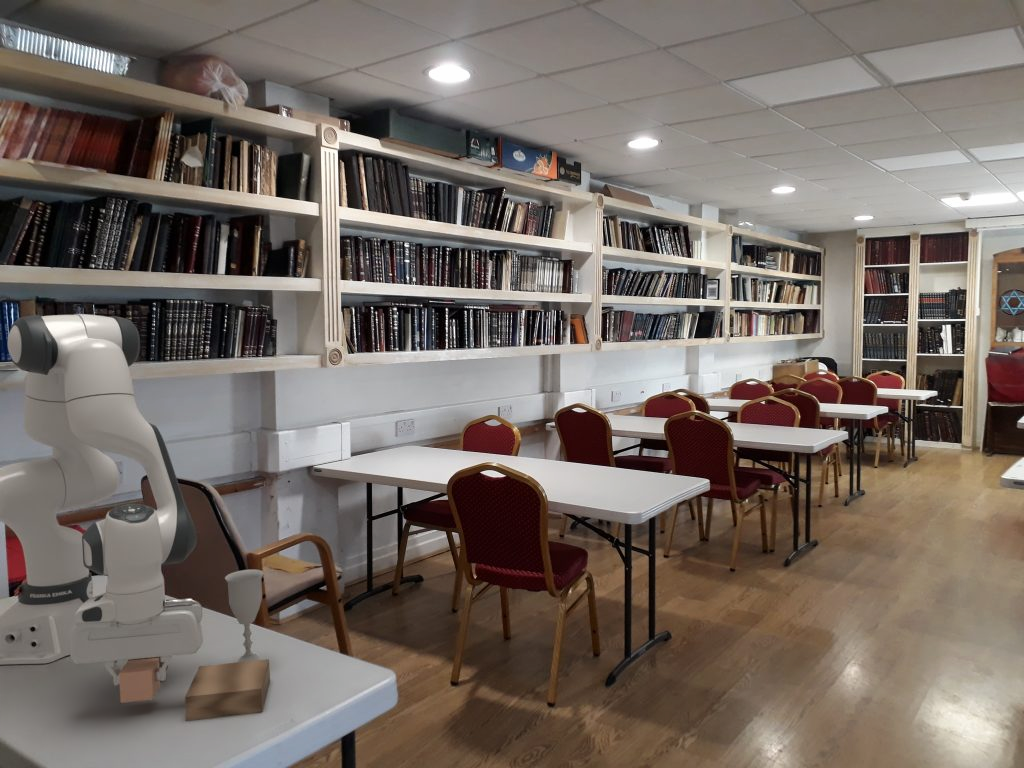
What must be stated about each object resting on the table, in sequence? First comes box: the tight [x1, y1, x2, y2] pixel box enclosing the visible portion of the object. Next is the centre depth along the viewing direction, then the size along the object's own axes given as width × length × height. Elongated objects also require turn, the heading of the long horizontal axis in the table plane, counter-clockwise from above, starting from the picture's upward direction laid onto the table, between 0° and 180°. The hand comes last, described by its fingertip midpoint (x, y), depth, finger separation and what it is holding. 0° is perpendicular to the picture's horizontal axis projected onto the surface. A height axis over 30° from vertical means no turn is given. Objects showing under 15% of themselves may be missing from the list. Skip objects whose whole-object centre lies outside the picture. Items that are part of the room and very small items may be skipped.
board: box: [184, 658, 271, 722], centre depth 134 cm, size 12×12×4 cm
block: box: [119, 658, 161, 704], centre depth 131 cm, size 5×5×5 cm
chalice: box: [224, 568, 265, 662], centre depth 146 cm, size 7×7×18 cm
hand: (140, 681), depth 131 cm, fingers closed on block, 5 cm apart
